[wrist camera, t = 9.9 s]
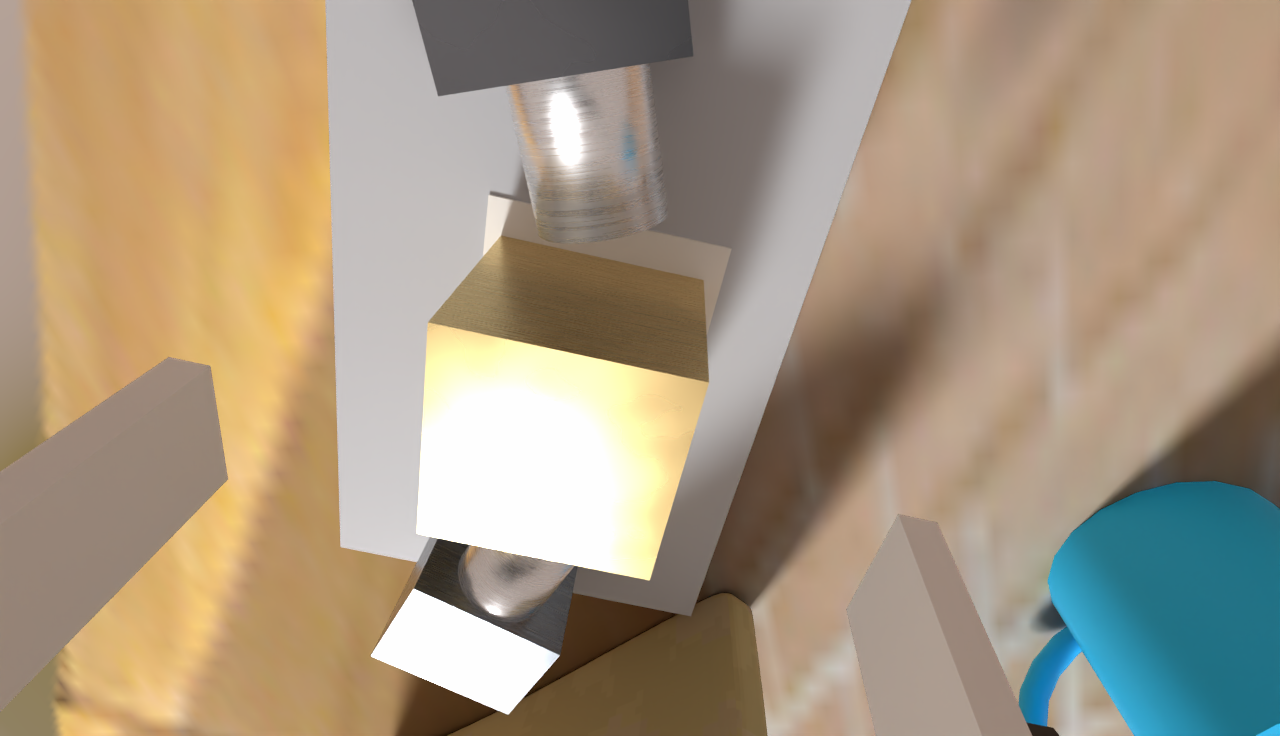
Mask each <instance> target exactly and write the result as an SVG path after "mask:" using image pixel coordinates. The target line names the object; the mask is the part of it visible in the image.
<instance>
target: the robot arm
mask: <svg viewBox="0 0 1280 736" xmlns="http://www.w3.org/2000/svg"><path fill="white" fill-rule="evenodd" d="M227 480H228V476H227V470H226V463H225V457H224V450H223V444H222V438H221V431H220V425H219V418H218V412H217V406H216V399H215V393H214V386H213V380H212V373H211V367H210V366H208V365H203V364H199V363H194V362H189V361H185V360H180V359H175V358H171V357H168V358H167V359H165V360H164V361H162V362H161V363H159V364H158V365H156V366H155V367H153V368H152V369H151V370H149V371H148V372H146V373H145V374H143V375H142V376H140V377H139V378H137V379H136V380H134V381H133V382H131V383H130V384H128V385H127V386H125V387H124V388H123V389H121V390H120V391H118V392H117V393H115V394H114V395H112V396H111V397H109V398H108V399H106V400H105V401H103V402H102V403H100V404H99V405H98V406H96V407H95V408H93V409H92V410H90V411H89V412H87V413H86V414H84V415H83V416H81V417H80V418H78V419H77V420H75V421H74V422H72V423H71V424H70V425H68V426H67V427H65V428H64V429H62V430H61V431H59V432H58V433H56V434H55V435H53V436H52V437H50V438H49V439H47V440H46V441H45V442H43V443H42V444H40V445H39V446H37V447H36V448H34V449H33V450H31V451H30V452H28V453H27V454H25V455H24V456H22V457H21V458H19V459H18V460H17V461H15V462H14V463H12V464H11V465H9V466H8V467H6V468H5V469H3V470H2V471H0V712H1V711H2V710H3V709H4V708H5V707H6V706H7V704H8V703H9V702H10V701H11V700H12V699H13V698H14V697H15V696H16V695H17V694H18V693H19V692H20V691H21V690H22V689H23V688H24V687H25V686H26V685H27V684H28V683H29V682H30V681H31V680H32V679H33V678H34V677H35V676H36V675H37V674H38V673H39V672H40V671H41V670H42V669H43V668H44V667H45V666H46V665H47V664H48V663H49V662H50V661H51V659H53V658H54V657H55V655H56V654H57V653H58V652H59V651H60V650H61V649H62V648H63V647H64V646H65V645H66V644H67V643H68V642H69V641H70V640H71V639H72V638H73V637H74V636H75V635H76V634H77V633H78V632H79V631H80V630H81V629H82V628H83V627H84V626H85V625H86V624H87V623H88V622H89V621H90V620H91V619H92V618H93V617H94V616H95V615H96V614H97V613H98V612H99V611H100V610H101V608H102V607H103V606H104V605H105V604H106V603H107V602H108V601H109V600H110V599H111V598H112V597H113V596H114V595H115V594H116V593H117V592H118V591H119V590H120V589H121V588H122V587H123V586H124V585H125V584H126V583H127V582H128V581H129V580H130V579H131V578H132V577H133V576H134V575H135V574H136V573H137V572H138V571H139V570H140V569H141V568H142V567H143V566H144V565H145V564H146V563H147V561H148V560H149V559H150V558H151V557H152V556H153V555H154V554H155V553H156V552H157V551H158V550H159V549H160V548H161V547H162V546H163V545H164V544H165V543H166V542H167V541H168V540H169V539H170V538H171V537H172V536H173V535H174V534H175V533H176V532H177V531H178V530H179V529H180V528H181V527H182V526H183V525H184V524H185V523H186V522H187V521H188V520H189V519H190V518H191V517H192V516H193V514H194V513H195V512H196V511H197V510H198V509H199V508H200V507H201V506H202V505H203V504H204V503H205V502H206V501H207V500H208V499H209V498H210V497H211V496H212V495H213V494H214V493H215V492H216V491H217V490H218V489H219V488H220V487H221V486H222V485H223V484H224V483H225V482H226V481H227ZM846 610H847V615H848V619H849V623H850V627H851V632H852V636H853V640H854V644H855V649H856V653H857V657H858V661H859V666H860V670H861V674H862V679H863V683H864V687H865V691H866V696H867V700H868V704H869V708H870V713H871V717H872V721H873V725H874V730H875V734H876V736H1059V734H1058V733H1057V732H1056V731H1055V730H1054V728H1051V727H1046V726H1041V725H1037V724H1032V723H1027V722H1026V721H1025V718H1024V716H1023V714H1022V712H1021V709H1020V707H1019V705H1018V703H1017V701H1016V698H1015V696H1014V694H1013V692H1012V689H1011V687H1010V685H1009V683H1008V680H1007V678H1006V676H1005V674H1004V671H1003V669H1002V667H1001V665H1000V662H999V660H998V658H997V656H996V653H995V651H994V649H993V647H992V644H991V642H990V640H989V638H988V635H987V633H986V631H985V629H984V626H983V624H982V622H981V620H980V617H979V615H978V613H977V611H976V609H975V606H974V604H973V602H972V600H971V597H970V595H969V593H968V591H967V588H966V586H965V584H964V582H963V579H962V577H961V575H960V573H959V570H958V568H957V566H956V564H955V561H954V559H953V557H952V555H951V552H950V550H949V548H948V546H947V543H946V541H945V539H944V537H943V534H942V532H941V530H940V528H939V525H938V523H937V522H933V521H928V520H924V519H919V518H914V517H910V516H905V515H900V514H898V516H897V517H896V519H895V521H894V523H893V525H892V527H891V528H890V530H889V532H888V534H887V536H886V538H885V539H884V541H883V543H882V545H881V547H880V548H879V550H878V552H877V554H876V556H875V558H874V559H873V561H872V563H871V565H870V567H869V569H868V570H867V572H866V574H865V576H864V578H863V580H862V581H861V583H860V585H859V587H858V589H857V590H856V592H855V594H854V596H853V598H852V600H851V601H850V603H849V605H848V607H847V609H846Z"/></svg>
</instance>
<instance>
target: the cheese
mask: <svg viewBox="0 0 1280 736" xmlns="http://www.w3.org/2000/svg"><path fill="white" fill-rule="evenodd" d="M447 736H767V727H766V718H765V709H764V700H763V692H762V684H761V676H760V668H759V660H758V652H757V645H756V637H755V629H754V622H753V615H752V611H751V609H750V608H749V607H748V605H746V604H745V603H744V602H742V601H741V600H739V599H738V598H737V597H735V596H734V595H732V594H729V593H720V594H717V595H714V596H712V597H709V598H707V599H705V600H703V601H701V602H699V603H697V604H695V606H694V609H693V612H692V615H691V616H686V615H681V614H677V615H675V616H673V617H672V618H670V619H668V620H666V621H664V622H662V623H661V624H659V625H657V626H655V627H653V628H651V629H650V630H648V631H646V632H644V633H642V634H640V635H639V636H637V637H635V638H633V639H631V640H629V641H628V642H626V643H624V644H622V645H620V646H618V647H617V648H615V649H613V650H611V651H609V652H607V653H606V654H604V655H602V656H600V657H598V658H597V659H595V660H593V661H591V662H590V663H588V664H586V665H584V666H582V667H580V668H579V669H577V670H575V671H573V672H571V673H570V674H568V675H566V676H564V677H562V678H560V679H559V680H557V681H555V682H553V683H551V684H549V685H548V686H546V687H544V688H542V689H540V690H538V691H536V692H534V693H533V694H531V695H529V696H527V697H525V698H523V699H521V701H520V702H519V703H518V704H517V705H516V706H515V707H514V709H513V710H512V711H511V712H510V713H509V714H505V713H503V712H501V711H498V712H496V713H494V714H492V715H490V716H487V717H485V718H483V719H481V720H479V721H477V722H475V723H473V724H471V725H469V726H467V727H465V728H462V729H460V730H458V731H456V732H454V733H451V734H449V735H447Z"/></svg>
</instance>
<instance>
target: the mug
mask: <svg viewBox="0 0 1280 736" xmlns="http://www.w3.org/2000/svg"><path fill="white" fill-rule="evenodd" d="M1048 584H1049V589H1050V594H1051V599H1052V603H1053V604H1054V606H1055V608H1056V609H1057V611H1058V613H1059V614H1060V616H1061V617H1062V619H1063V621H1064V622H1065V624H1066V626H1067V627H1065V628H1064V629H1063V630H1061V631H1060V632H1058V633H1057V634H1056V635H1054V636H1053V637H1052V639H1051V640H1050V641H1049V642H1048V643H1047V645H1046V646H1045V647H1044V648H1043V649H1042V651H1041V652H1040V653H1039V654H1038V655H1037V656H1036V658H1035V659H1034V660H1033V661H1032V664H1031V666H1030V668H1029V670H1028V673H1027V675H1026V677H1025V680H1024V682H1023V684H1022V686H1021V689H1020V694H1019V707H1020V709H1021V712H1022V714H1023V716H1024V718H1025V721H1026V722H1027V723H1032V724H1037V725H1041V726H1046V727H1047V719H1048V706H1049V699H1050V697H1051V695H1052V692H1053V690H1054V688H1055V685H1056V683H1057V681H1058V678H1059V676H1060V675H1061V674H1062V673H1063V672H1064V670H1065V669H1066V668H1067V667H1068V666H1069V664H1070V663H1071V662H1072V661H1073V660H1074V659H1075V657H1076V656H1077V655H1078V654H1079V653H1081V652H1083V653H1084V655H1085V656H1086V658H1087V660H1088V661H1089V663H1090V665H1091V666H1092V668H1093V670H1094V671H1095V673H1096V674H1097V676H1098V678H1099V679H1100V681H1101V683H1102V684H1103V686H1104V687H1105V689H1106V691H1107V692H1108V694H1109V696H1110V697H1111V699H1112V700H1113V702H1114V704H1115V705H1116V707H1117V709H1118V710H1119V712H1120V713H1121V715H1122V717H1123V718H1124V720H1125V722H1126V723H1127V725H1128V726H1129V728H1130V730H1131V731H1132V733H1133V735H1134V736H1280V509H1279V508H1278V507H1277V506H1276V505H1275V504H1273V503H1271V502H1270V501H1268V500H1267V499H1265V498H1264V497H1262V496H1260V495H1259V494H1257V493H1256V492H1254V491H1253V490H1251V489H1249V488H1244V487H1240V486H1235V485H1231V484H1226V483H1222V482H1217V481H1205V482H1176V483H1172V484H1168V485H1164V486H1160V487H1156V488H1152V489H1148V490H1144V491H1140V492H1136V493H1134V494H1132V495H1130V496H1128V497H1126V498H1124V499H1122V500H1120V501H1118V502H1115V503H1113V504H1111V505H1109V506H1107V507H1105V508H1103V509H1101V510H1099V511H1098V512H1097V513H1096V514H1094V515H1093V516H1092V517H1091V518H1089V519H1088V520H1087V521H1085V522H1084V523H1083V524H1082V525H1080V526H1079V527H1078V528H1077V529H1075V530H1074V531H1073V532H1072V533H1071V534H1070V536H1069V537H1068V538H1067V540H1066V541H1065V543H1064V544H1063V545H1062V547H1061V548H1060V549H1059V551H1058V552H1057V553H1056V555H1055V556H1054V560H1053V563H1052V567H1051V571H1050V574H1049V578H1048Z"/></svg>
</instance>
